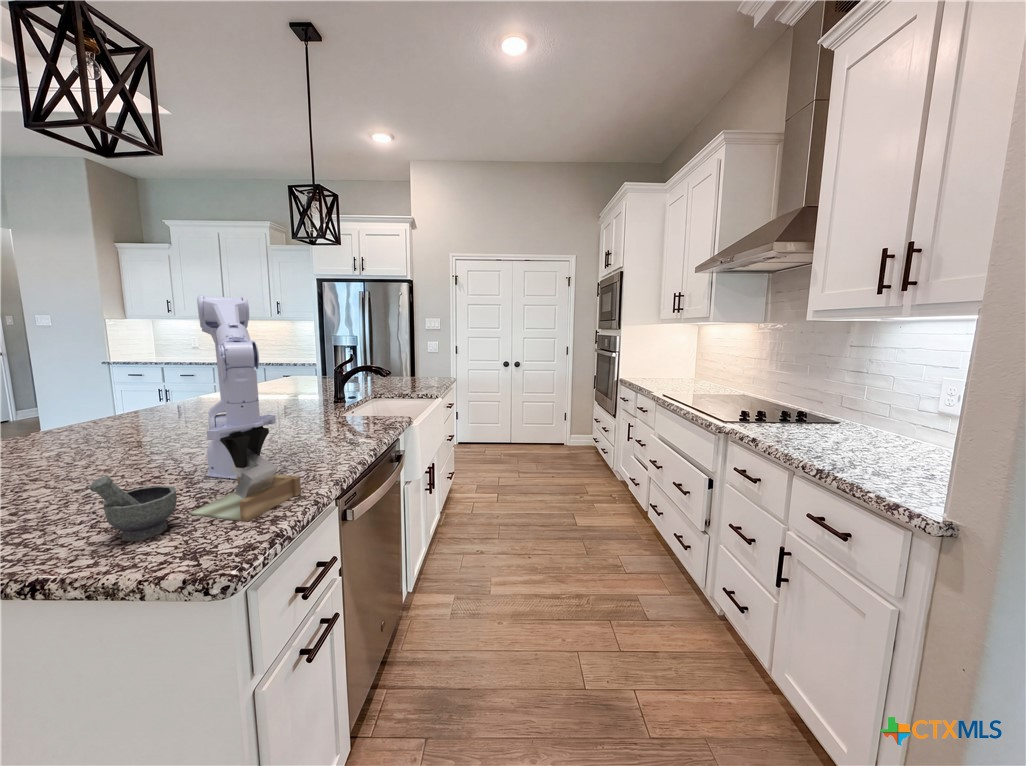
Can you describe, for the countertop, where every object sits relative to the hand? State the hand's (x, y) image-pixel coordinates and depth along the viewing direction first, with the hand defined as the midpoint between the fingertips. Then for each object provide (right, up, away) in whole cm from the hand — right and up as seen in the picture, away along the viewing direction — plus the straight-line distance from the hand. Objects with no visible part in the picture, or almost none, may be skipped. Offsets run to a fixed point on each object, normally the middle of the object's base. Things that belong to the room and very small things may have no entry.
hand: (247, 464), depth 84 cm
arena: (-1, -8, +1) cm, 8 cm away
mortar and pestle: (-11, -10, -12) cm, 19 cm away
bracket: (0, -3, -2) cm, 4 cm away
